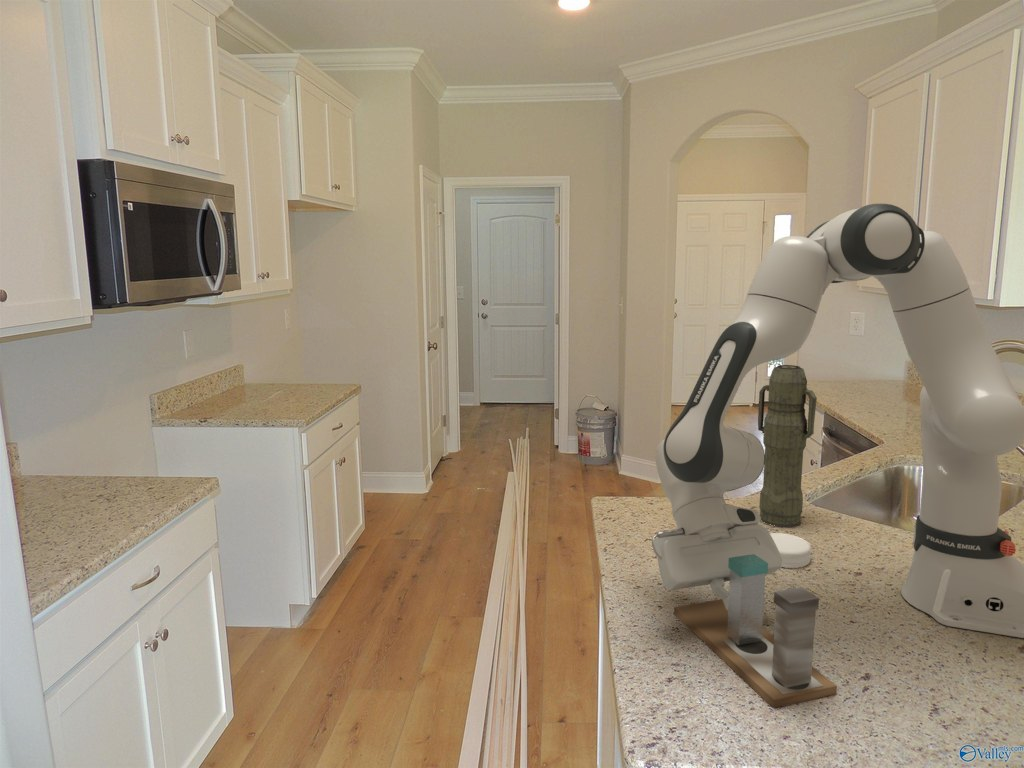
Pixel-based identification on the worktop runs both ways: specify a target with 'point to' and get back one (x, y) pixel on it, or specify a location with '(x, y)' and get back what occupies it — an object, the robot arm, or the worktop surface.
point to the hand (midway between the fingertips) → (737, 608)
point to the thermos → (784, 444)
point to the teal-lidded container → (746, 598)
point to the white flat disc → (792, 550)
